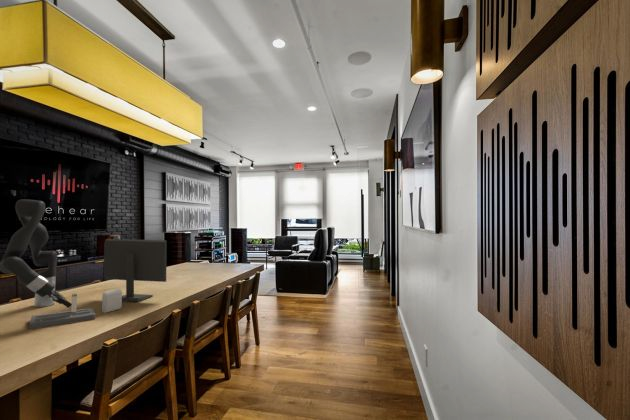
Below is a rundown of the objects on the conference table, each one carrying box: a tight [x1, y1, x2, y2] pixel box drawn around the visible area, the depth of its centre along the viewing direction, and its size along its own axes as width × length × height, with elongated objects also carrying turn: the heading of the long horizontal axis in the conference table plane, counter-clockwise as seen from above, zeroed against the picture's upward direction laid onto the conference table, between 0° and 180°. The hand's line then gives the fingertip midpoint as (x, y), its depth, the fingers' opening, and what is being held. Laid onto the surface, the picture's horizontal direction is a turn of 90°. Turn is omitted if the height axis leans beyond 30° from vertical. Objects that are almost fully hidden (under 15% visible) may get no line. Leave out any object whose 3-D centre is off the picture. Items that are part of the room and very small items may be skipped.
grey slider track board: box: [28, 307, 96, 330], centre depth 163 cm, size 16×26×4 cm, turn 130°
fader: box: [69, 293, 78, 313], centre depth 166 cm, size 4×3×10 cm
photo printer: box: [101, 288, 123, 314], centre depth 181 cm, size 10×4×12 cm, turn 156°
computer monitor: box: [103, 238, 168, 303], centre depth 208 cm, size 44×16×40 cm, turn 84°
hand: (70, 306), depth 165 cm, fingers closed
